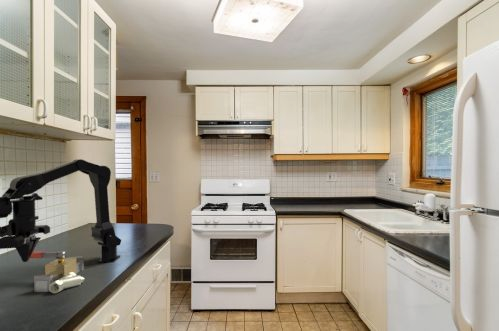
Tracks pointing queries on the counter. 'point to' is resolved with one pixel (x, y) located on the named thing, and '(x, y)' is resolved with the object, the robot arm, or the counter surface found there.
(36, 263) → the counter surface
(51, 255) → the lever
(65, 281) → the pipe fitting
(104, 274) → the counter surface
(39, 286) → the valve
